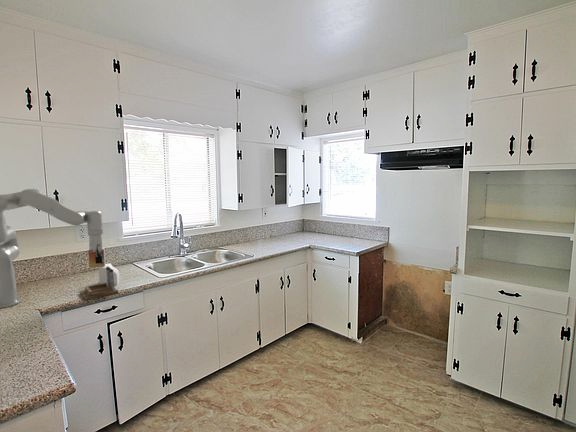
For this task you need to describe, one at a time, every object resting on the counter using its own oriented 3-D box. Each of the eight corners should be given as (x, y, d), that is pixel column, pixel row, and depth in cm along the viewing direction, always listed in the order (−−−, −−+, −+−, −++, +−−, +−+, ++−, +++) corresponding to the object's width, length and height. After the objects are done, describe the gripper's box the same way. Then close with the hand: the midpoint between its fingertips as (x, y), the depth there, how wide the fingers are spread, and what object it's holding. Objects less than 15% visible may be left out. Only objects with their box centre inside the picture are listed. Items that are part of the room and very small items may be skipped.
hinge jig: (79, 293, 191) (77, 270, 189) (110, 287, 202) (109, 265, 201) (85, 300, 180) (83, 275, 178) (118, 293, 192) (116, 269, 190)
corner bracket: (101, 281, 214) (100, 264, 212) (120, 280, 217) (119, 262, 216) (97, 286, 203) (96, 268, 202) (117, 284, 207) (116, 266, 206)
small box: (89, 268, 185) (87, 250, 184) (90, 265, 191) (89, 248, 189) (104, 266, 189) (103, 249, 188) (105, 264, 194) (104, 247, 193)
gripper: (84, 231, 191) (86, 260, 193) (91, 234, 179) (93, 265, 180) (98, 229, 196) (100, 258, 198) (106, 233, 184) (108, 263, 186)
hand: (97, 261), depth 189 cm, fingers closed on small box, 6 cm apart
